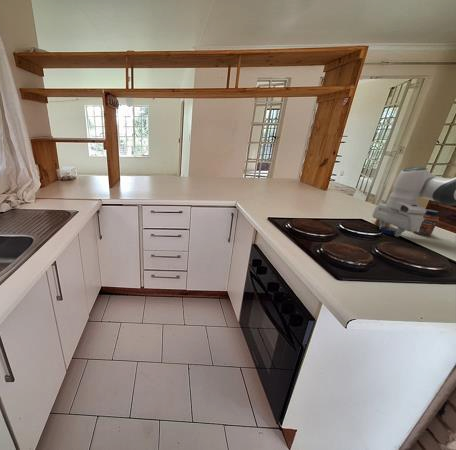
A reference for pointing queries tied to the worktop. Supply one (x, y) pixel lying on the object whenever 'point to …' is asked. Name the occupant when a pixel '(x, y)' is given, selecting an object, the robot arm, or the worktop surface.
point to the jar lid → (388, 230)
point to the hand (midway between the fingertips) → (388, 233)
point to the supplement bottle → (428, 223)
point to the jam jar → (379, 223)
